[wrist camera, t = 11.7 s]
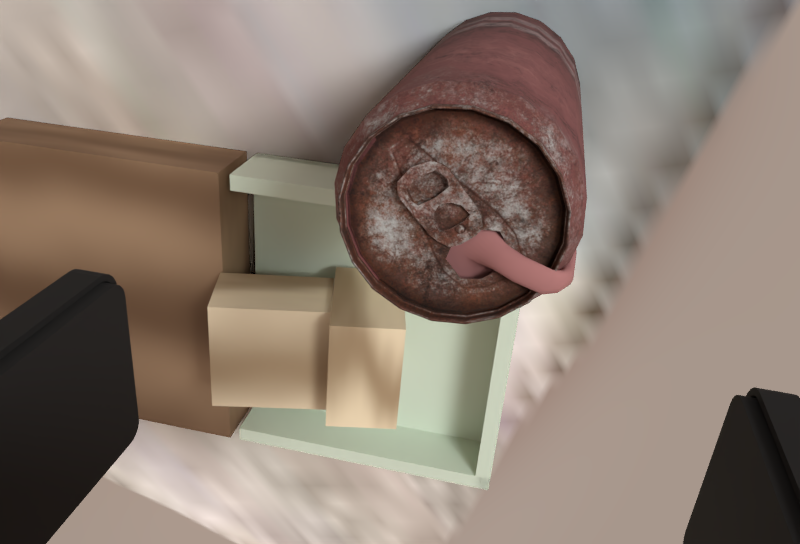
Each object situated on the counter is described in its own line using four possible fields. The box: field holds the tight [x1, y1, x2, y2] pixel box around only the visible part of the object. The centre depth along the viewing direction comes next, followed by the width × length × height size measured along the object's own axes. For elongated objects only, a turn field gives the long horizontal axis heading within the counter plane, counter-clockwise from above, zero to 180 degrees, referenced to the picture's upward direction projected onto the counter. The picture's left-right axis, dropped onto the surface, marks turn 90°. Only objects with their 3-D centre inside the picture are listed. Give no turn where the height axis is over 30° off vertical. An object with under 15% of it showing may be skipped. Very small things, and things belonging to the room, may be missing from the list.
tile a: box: [207, 273, 334, 410], centre depth 32 cm, size 5×5×3 cm
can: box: [334, 12, 587, 324], centre depth 23 cm, size 6×6×14 cm
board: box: [0, 118, 250, 437], centre depth 35 cm, size 14×12×3 cm
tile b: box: [326, 267, 406, 429], centre depth 32 cm, size 5×5×3 cm
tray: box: [230, 153, 520, 490], centre depth 33 cm, size 14×12×3 cm
